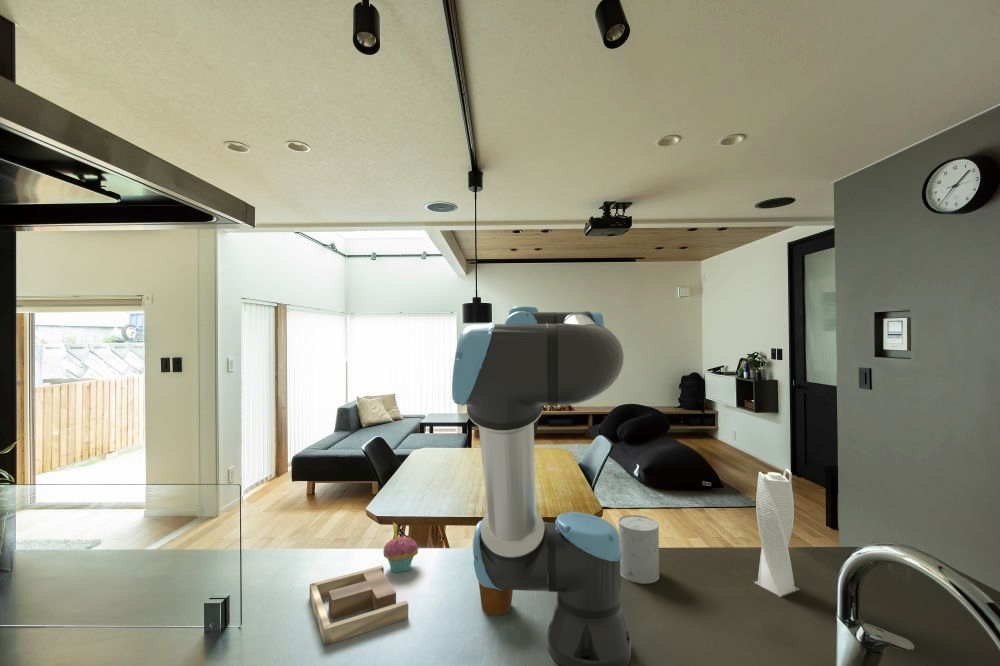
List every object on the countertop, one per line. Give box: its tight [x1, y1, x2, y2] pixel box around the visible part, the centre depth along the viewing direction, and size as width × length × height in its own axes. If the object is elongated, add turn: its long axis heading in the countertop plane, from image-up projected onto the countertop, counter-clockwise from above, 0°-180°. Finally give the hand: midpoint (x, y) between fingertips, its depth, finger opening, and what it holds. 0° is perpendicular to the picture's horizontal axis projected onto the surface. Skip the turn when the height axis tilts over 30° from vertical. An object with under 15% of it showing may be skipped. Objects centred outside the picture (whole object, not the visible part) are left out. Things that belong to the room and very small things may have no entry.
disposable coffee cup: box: [478, 582, 514, 616], centre depth 96 cm, size 10×10×12 cm
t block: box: [328, 568, 397, 621], centre depth 96 cm, size 12×12×4 cm
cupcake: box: [383, 520, 419, 573], centre depth 113 cm, size 9×8×12 cm
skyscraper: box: [753, 468, 801, 598], centre depth 104 cm, size 8×8×28 cm
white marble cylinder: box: [618, 514, 660, 585], centre depth 110 cm, size 10×10×12 cm
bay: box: [309, 565, 409, 647], centre depth 96 cm, size 18×16×3 cm
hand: (524, 462), depth 112 cm, fingers closed
